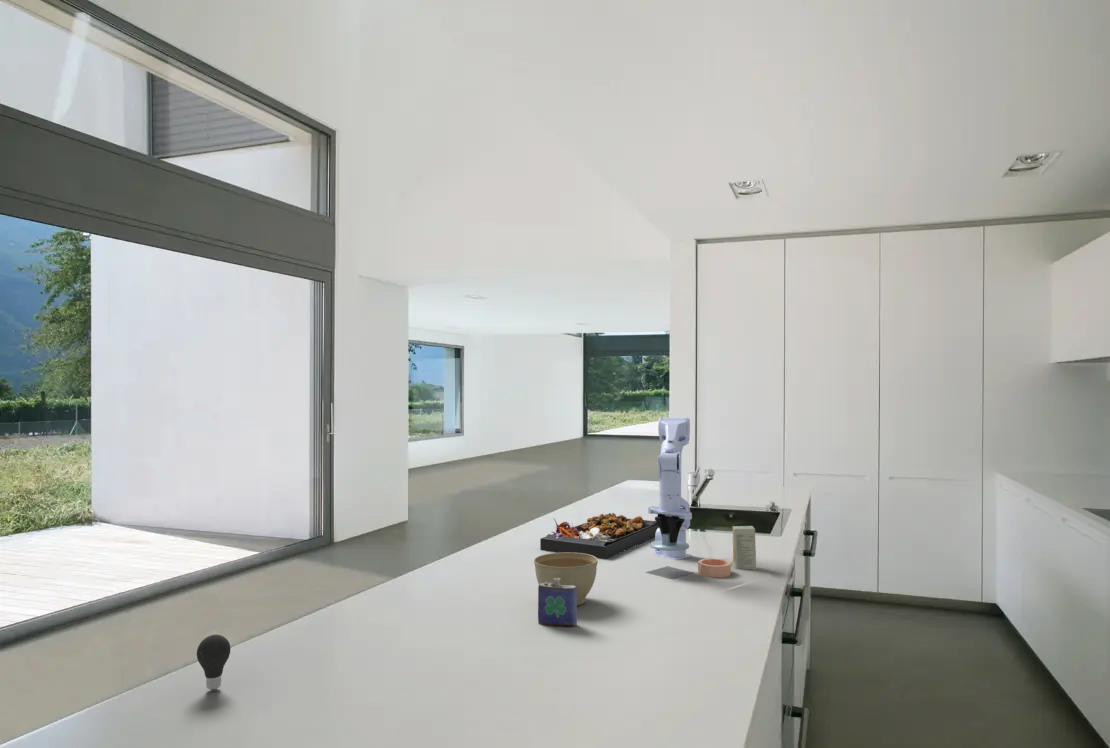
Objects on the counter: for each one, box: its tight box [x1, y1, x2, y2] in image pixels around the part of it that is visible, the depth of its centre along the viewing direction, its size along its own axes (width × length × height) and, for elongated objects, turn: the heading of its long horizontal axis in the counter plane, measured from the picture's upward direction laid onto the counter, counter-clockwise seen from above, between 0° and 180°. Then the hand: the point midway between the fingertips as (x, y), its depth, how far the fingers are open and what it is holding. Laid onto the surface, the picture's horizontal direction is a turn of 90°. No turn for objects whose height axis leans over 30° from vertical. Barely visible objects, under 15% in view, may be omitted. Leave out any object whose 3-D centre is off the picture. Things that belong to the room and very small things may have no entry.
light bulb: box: [196, 634, 231, 692], centre depth 133 cm, size 6×6×10 cm
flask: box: [537, 578, 578, 628], centre depth 168 cm, size 9×3×11 cm, turn 74°
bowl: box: [697, 557, 732, 578], centre depth 210 cm, size 9×9×3 cm
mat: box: [644, 566, 695, 580], centre depth 211 cm, size 10×10×1 cm
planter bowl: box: [533, 552, 599, 606], centre depth 185 cm, size 16×16×11 cm
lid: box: [650, 533, 690, 551], centre depth 211 cm, size 11×11×4 cm
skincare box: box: [732, 525, 757, 571], centre depth 217 cm, size 6×4×12 cm
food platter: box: [539, 512, 659, 560], centre depth 254 cm, size 45×25×10 cm, turn 148°
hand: (669, 541), depth 211 cm, fingers closed on lid, 2 cm apart
